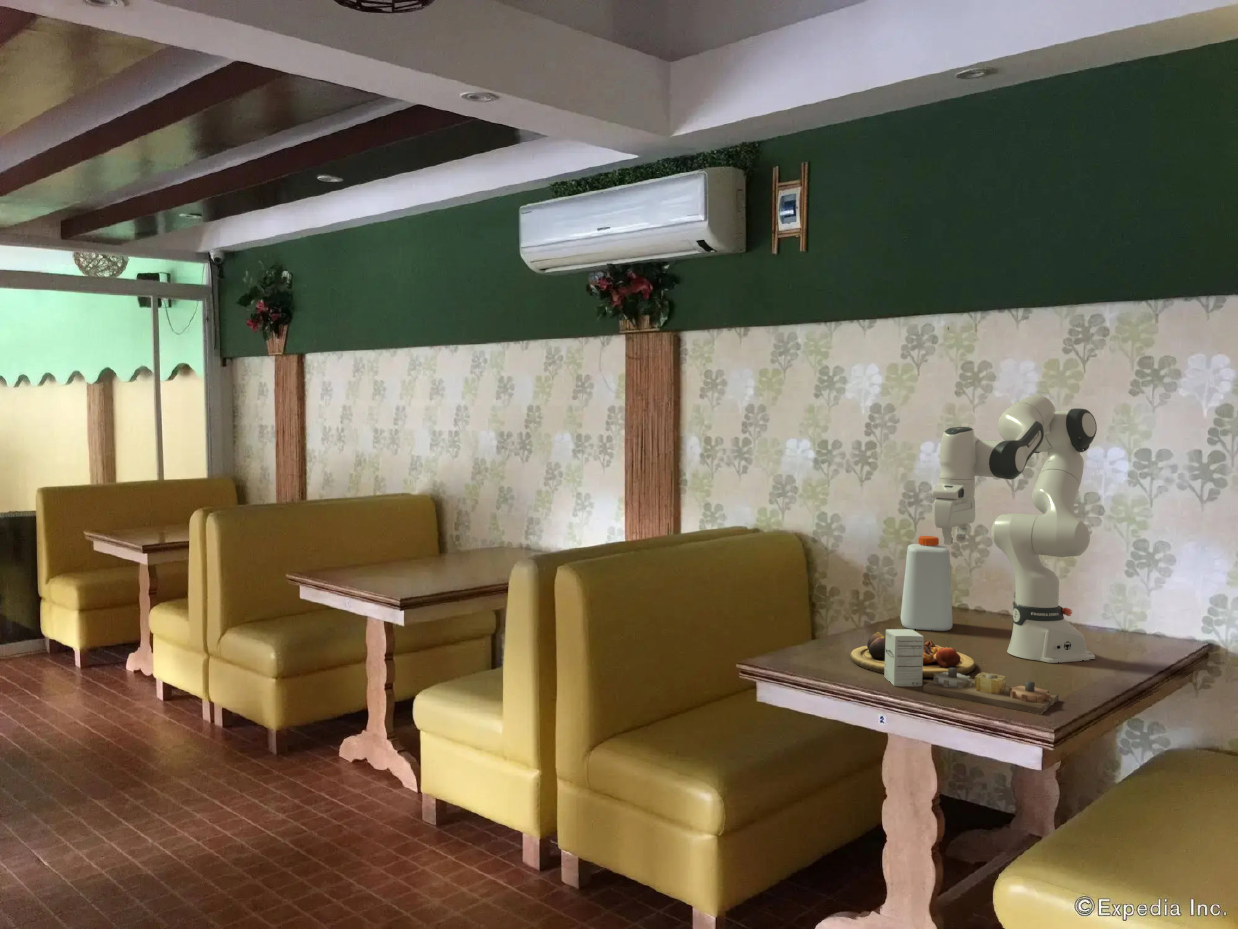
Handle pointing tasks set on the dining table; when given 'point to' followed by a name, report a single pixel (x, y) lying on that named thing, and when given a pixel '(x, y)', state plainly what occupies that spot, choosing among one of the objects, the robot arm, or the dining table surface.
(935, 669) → the wooden plate with food
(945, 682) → the gear board
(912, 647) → the supplement box
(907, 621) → the plastic bottle
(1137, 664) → the dining table surface
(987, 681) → the brass gear
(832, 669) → the dining table surface
